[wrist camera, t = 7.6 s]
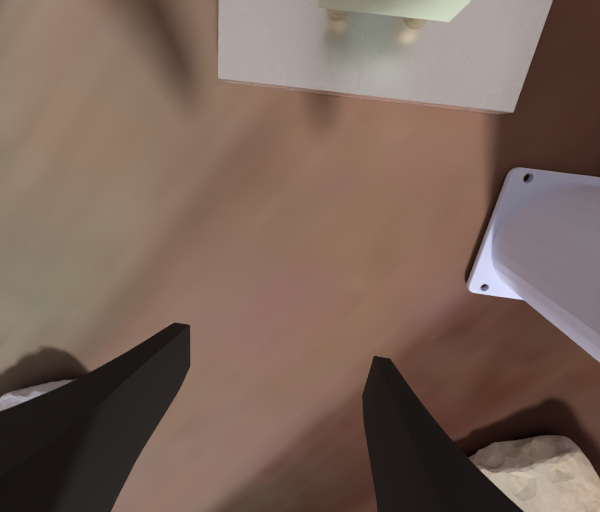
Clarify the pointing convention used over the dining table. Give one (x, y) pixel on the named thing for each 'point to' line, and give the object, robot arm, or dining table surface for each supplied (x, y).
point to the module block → (401, 7)
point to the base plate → (383, 52)
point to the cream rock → (542, 474)
